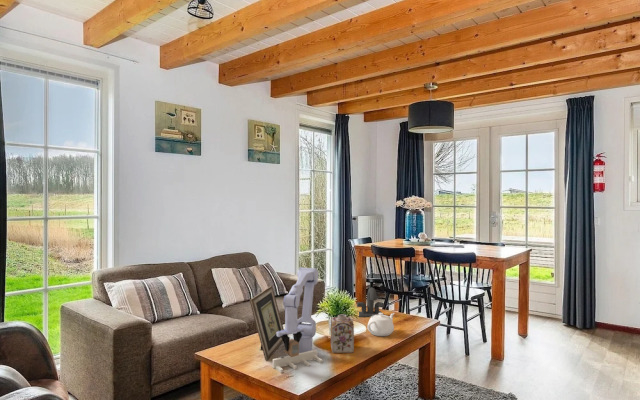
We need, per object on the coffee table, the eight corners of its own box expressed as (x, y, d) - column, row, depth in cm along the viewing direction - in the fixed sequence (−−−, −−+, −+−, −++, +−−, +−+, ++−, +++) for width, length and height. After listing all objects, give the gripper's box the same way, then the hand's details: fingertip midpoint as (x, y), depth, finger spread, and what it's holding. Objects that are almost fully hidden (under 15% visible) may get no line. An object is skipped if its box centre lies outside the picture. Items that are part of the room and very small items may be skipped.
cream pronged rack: (272, 367, 202) (272, 357, 202) (315, 357, 214) (315, 348, 214) (279, 373, 195) (279, 363, 195) (323, 362, 208) (323, 353, 208)
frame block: (284, 352, 201) (284, 340, 201) (292, 351, 203) (292, 338, 203) (291, 357, 196) (291, 344, 196) (298, 355, 198) (298, 342, 198)
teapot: (378, 341, 238) (379, 319, 238) (357, 334, 250) (358, 313, 249) (404, 331, 256) (404, 311, 256) (383, 325, 267) (384, 306, 267)
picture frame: (267, 360, 210) (267, 300, 210) (248, 359, 212) (248, 299, 212) (286, 338, 242) (286, 286, 242) (269, 337, 244) (269, 285, 244)
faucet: (360, 320, 278) (360, 290, 277) (356, 313, 293) (356, 285, 293) (387, 320, 279) (387, 289, 279) (381, 313, 295) (382, 284, 295)
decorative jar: (351, 345, 232) (352, 312, 232) (354, 353, 221) (354, 318, 221) (330, 345, 232) (330, 312, 232) (331, 353, 220) (331, 318, 220)
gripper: (281, 325, 192) (281, 355, 192) (308, 320, 200) (308, 348, 200) (274, 321, 198) (274, 350, 198) (301, 316, 206) (301, 344, 206)
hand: (291, 349), depth 200 cm, fingers closed on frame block, 4 cm apart
